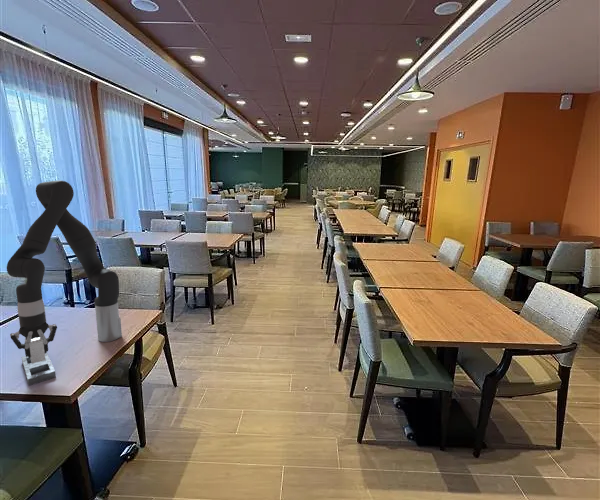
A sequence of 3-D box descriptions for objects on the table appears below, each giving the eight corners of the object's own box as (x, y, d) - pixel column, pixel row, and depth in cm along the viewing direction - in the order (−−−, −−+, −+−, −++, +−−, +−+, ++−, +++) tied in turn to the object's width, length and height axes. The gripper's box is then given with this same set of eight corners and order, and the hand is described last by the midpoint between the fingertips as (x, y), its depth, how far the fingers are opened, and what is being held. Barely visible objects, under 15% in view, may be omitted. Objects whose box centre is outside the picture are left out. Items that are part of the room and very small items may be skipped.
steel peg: (43, 355, 126) (41, 336, 125) (45, 359, 123) (43, 340, 122) (30, 359, 123) (27, 339, 122) (31, 363, 121) (29, 343, 119)
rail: (47, 356, 138) (46, 350, 137) (55, 377, 124) (55, 371, 124) (22, 362, 132) (21, 357, 132) (28, 385, 119) (27, 379, 118)
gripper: (6, 320, 112) (13, 365, 116) (57, 310, 122) (62, 352, 125) (4, 313, 117) (11, 357, 121) (54, 304, 127) (58, 345, 131)
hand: (37, 354), depth 123 cm, fingers closed on steel peg, 4 cm apart
